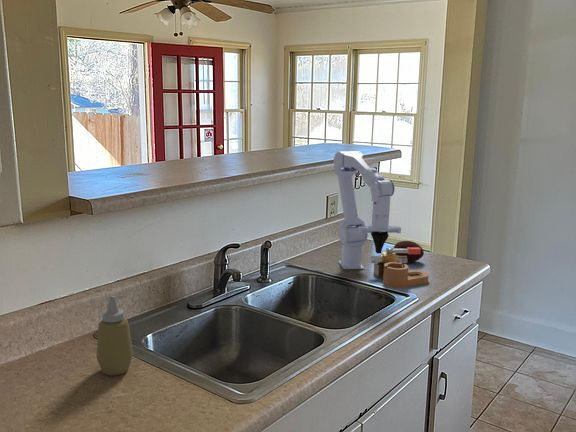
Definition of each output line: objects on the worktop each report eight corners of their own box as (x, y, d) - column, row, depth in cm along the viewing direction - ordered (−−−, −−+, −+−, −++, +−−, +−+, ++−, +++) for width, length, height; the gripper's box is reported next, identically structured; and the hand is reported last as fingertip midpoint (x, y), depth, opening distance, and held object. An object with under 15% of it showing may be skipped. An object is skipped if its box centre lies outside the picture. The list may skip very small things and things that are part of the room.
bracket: (393, 290, 186) (394, 270, 185) (378, 282, 193) (379, 263, 192) (433, 282, 195) (434, 264, 193) (416, 275, 202) (418, 257, 200)
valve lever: (387, 254, 198) (387, 249, 197) (385, 252, 200) (385, 247, 200) (420, 254, 199) (420, 249, 199) (418, 252, 201) (418, 247, 201)
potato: (386, 259, 221) (387, 239, 219) (406, 255, 227) (408, 236, 225) (407, 267, 211) (408, 246, 209) (427, 263, 217) (429, 242, 215)
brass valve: (368, 272, 203) (369, 251, 201) (402, 272, 204) (403, 251, 203) (372, 278, 197) (374, 256, 195) (407, 277, 199) (409, 256, 197)
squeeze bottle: (113, 382, 122) (110, 306, 118) (89, 372, 126) (85, 298, 122) (141, 368, 129) (138, 295, 125) (117, 358, 133) (114, 288, 129)
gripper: (363, 217, 184) (360, 256, 187) (404, 217, 186) (401, 255, 189) (358, 212, 191) (355, 250, 194) (398, 212, 193) (395, 250, 196)
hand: (378, 252), depth 192 cm, fingers closed
